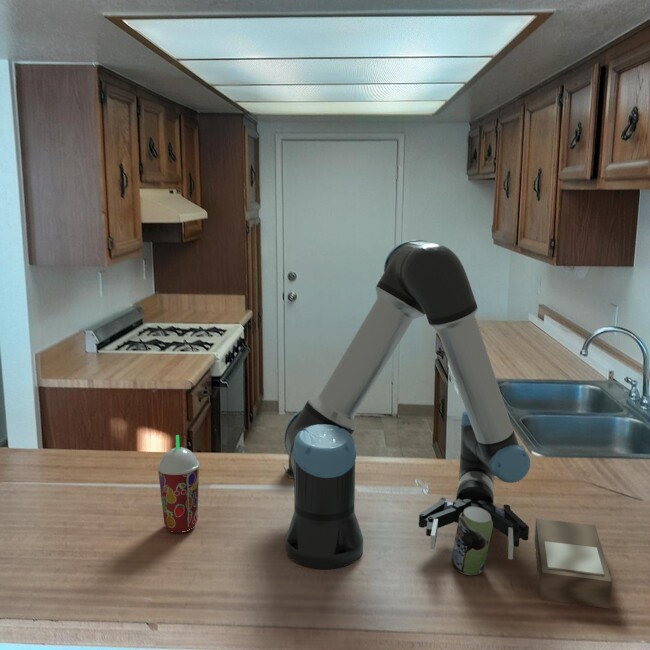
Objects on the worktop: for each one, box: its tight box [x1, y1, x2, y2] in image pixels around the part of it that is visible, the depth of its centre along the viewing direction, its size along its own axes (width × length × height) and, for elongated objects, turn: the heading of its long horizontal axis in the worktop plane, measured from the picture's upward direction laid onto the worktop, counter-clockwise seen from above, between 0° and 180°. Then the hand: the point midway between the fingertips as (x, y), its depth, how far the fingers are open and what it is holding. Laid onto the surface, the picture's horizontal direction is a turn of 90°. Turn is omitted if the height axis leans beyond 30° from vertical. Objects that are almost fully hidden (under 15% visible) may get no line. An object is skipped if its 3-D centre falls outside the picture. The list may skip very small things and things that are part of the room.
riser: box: [534, 518, 613, 609], centre depth 122 cm, size 11×20×5 cm, turn 166°
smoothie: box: [157, 434, 200, 533], centre depth 138 cm, size 8×8×20 cm
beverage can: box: [450, 506, 494, 576], centre depth 122 cm, size 6×7×12 cm
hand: (471, 547), depth 119 cm, fingers open, 13 cm apart
